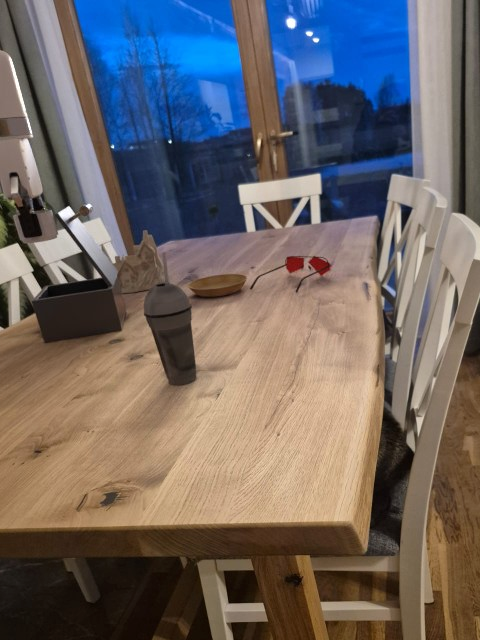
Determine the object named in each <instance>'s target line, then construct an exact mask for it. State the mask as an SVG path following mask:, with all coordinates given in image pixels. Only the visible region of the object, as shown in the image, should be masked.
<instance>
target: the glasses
mask: <svg viewBox="0 0 480 640" xmlns="http://www.w3.org/2000/svg"><path fill="white" fill-rule="evenodd" d="M305 258H310V256H309V255H308V256H305V255H303V256H302V255H289V256H286V258H285V261H284V264H282V265H280V266H278V267H276V268H274V269H270V270H269V271H265V272H264V273H262V274H260V275H258V276H257V277H255V279H254V281H253V283H252V284H251V286H250V287H249V290H253V289H254V287H255V285H256V283H257V281H258V280H259V279H260V278H261V277H263V276H265V275H267V274H270V273H272V272H275V271H278V270H279V269H283V268H284V267H285V269H286V270H287V272H288V273H289V274H292V273H295V272H297V271H299V270H303V269H304V268H305ZM307 263H308V264H309V265H308V266H307V268H308V269H309V270H310V271H311V270H313V269H314V272H312V273H310V274H308V275H306V276H303V277H302V278H301V279H300V281H299V283H298V285H297V287H296V289H295V290H294V291H295V293H296V294H297V293H299V290H300V288H301V286H302V283H303V281H304V280H305V279H307V278H310V277H311V276H314V275H316V274H318V275H319V276H320V277H322V276H324V275H325V274H326V273H329V272H330V271H331V268H332V264H331V262H329V261H328V259H327V258H326V257H324V256H317V255H313V256H312V257H311V258H310V259H309V260H308V262H307Z"/></svg>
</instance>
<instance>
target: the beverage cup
mask: <svg viewBox="0 0 480 640" xmlns="http://www.w3.org/2000/svg"><path fill="white" fill-rule="evenodd" d="M162 264H163V267H164V277H165V283H161V284H157V285H155V286H154V287H152V288H151V289H150V290H147V293H146V295H145V297H144V301H143V316H144V317H145V320H146V322H147V324H148V327H149V328H150V330H151V333H152V337H153V340H154V343H155V347H156V350H157V353H158V356H159V359H160V361H161V365H162V367H163V371H164V374H165V376H166V378H167V381H168V382H167V383H169V385H171V384H172V385H171V386H184V385H187V383H188V384H191V383H193V382H195V381H196V380H197V378H198V377H197V364H196V354H195V346H194V345H195V344H194V337H193V329H192V319H193V317H192V313H193V312H192V309H193V306H192V304H191V301H190V298H189V297H188V295H187V293H186V291H184V289H182V287H180V286H179V285H176V284H174V283H171V282H170V281H169V282H168V276H169V273H168V262H167V252H162ZM195 379H196V380H195ZM192 381H193V382H192ZM183 384H184V385H183Z"/></svg>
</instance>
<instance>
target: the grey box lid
mask: <svg viewBox="0 0 480 640" xmlns="http://www.w3.org/2000/svg"><path fill="white" fill-rule="evenodd" d="M93 211H94V207H93V205H91V203H84V204H82V205H80V206H79V209H78V212H77V213H75V212H74V211H73V209H72V207H70V205H68V206H67V207H64V208H63V209H62V210H59V211H58V212H57V213H55V214H54V218H56V220H57V221H58V222H59V224H60V225H61V226H62V227H63V228H64V230H65V231H66V233H67V234H68V235H69V237H70V238H71V240H73V242H74V243H75V244H76V245H77V247H78V249H79V250H80V251H81V252H82V253H83V255H84V256H85V257H86V259H87V261H89V263H90V264H91V265H92V267H93V268H94V269H95V271H96V272H97V273H98V274H99V276H100V278H103V280H104V281H105V282H106V284H107V285H108V286H109V287H112V286H113V284H114V281H115V279H116V276H117V274H118V271H117V270H116V268H115V267H114V266H113V263H112V261H111V260H110V259H109V258H108V256H107V255H106V254H105V252H104V251H103V250H102V248H101V247H100V245H99V244H98V242H97V241H96V240H95V238H93V236H92V235H91V234H90V232H89V231H88V229H87V227H85V225H84V224H83V223H82V221H81V220H80V219H79V217H81V216H82V217H87V216H89V215H90V214H91V213H92V212H93Z"/></svg>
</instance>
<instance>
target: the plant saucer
mask: <svg viewBox="0 0 480 640" xmlns="http://www.w3.org/2000/svg"><path fill="white" fill-rule="evenodd" d="M247 280H248V276H247V275H245V274H240V273H223V274H215V275H209V276H204V277H201V278H197V279H195V280H191V281H190V282H189V283H187V284H186V285H187V288H188V289H190V290H191V291H192V292H193V293H194V294H196V295H197V296H199V297H204V298H214V297H216V298H217V297H223V296H229V295H231V294H234V293H238V291H240V290H241V289H242V288H243V286H244V285H245V284H246V282H247Z"/></svg>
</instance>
